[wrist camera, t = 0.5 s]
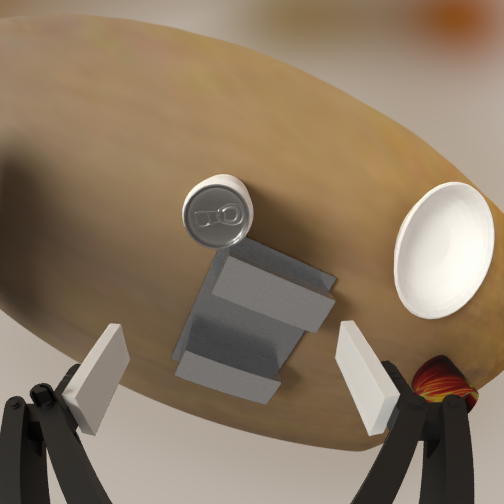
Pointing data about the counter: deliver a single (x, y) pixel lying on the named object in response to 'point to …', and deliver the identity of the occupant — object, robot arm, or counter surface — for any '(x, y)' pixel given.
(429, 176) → the counter surface
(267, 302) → the gray metal fixture
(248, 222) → the can
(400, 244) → the bowl
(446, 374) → the mug
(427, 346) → the counter surface
